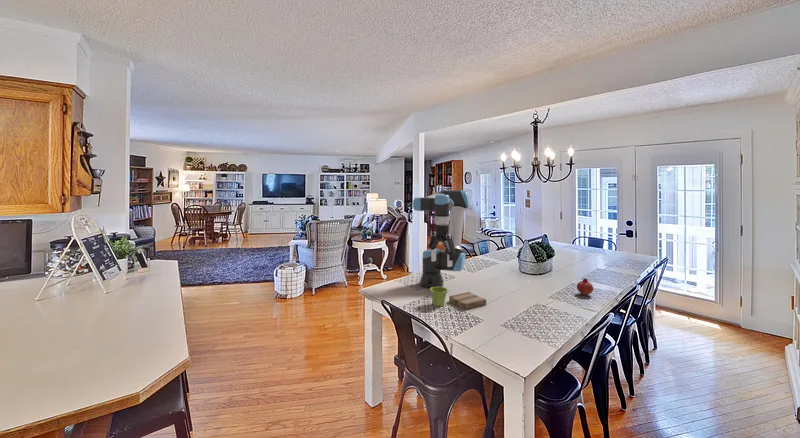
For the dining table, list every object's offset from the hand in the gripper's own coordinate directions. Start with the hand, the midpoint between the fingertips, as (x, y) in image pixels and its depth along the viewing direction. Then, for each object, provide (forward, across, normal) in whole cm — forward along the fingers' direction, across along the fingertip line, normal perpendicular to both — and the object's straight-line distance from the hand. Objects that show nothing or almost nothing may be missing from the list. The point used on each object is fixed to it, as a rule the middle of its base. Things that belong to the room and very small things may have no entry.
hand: (441, 263), depth 166 cm
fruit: (+23, +33, +81) cm, 90 cm away
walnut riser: (+23, +6, +14) cm, 27 cm away
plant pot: (+23, -1, -1) cm, 23 cm away
